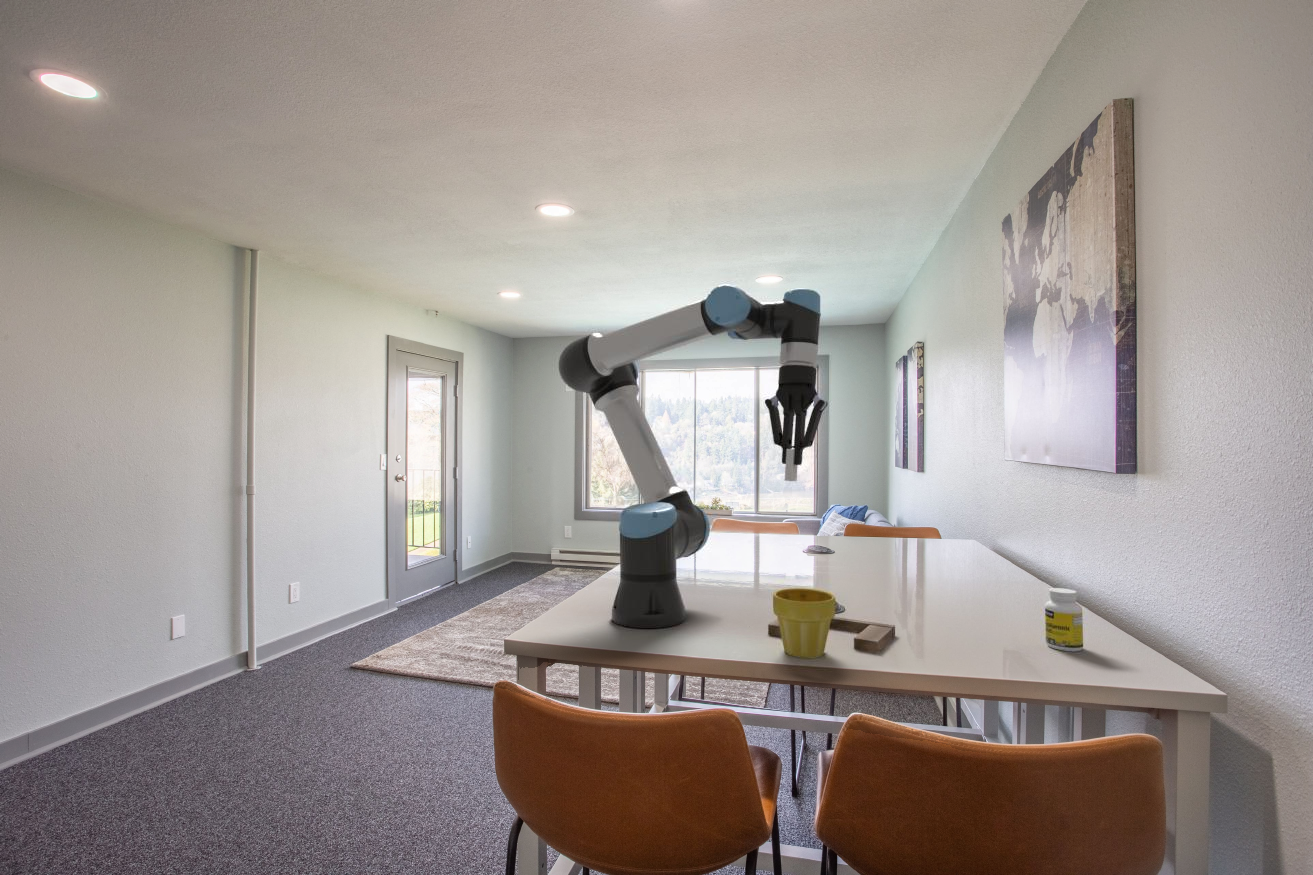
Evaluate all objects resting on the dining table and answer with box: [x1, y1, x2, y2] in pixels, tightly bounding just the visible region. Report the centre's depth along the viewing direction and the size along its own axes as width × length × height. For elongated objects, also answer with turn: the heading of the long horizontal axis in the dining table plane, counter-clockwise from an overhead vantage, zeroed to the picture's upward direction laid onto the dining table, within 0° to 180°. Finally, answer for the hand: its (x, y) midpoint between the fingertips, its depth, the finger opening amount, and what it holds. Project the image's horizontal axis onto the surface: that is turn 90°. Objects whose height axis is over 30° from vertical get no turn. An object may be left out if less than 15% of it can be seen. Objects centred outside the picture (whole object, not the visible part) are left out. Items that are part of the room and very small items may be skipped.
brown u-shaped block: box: [767, 616, 896, 653], centre depth 115 cm, size 20×12×2 cm, turn 56°
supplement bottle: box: [1044, 587, 1084, 653], centre depth 106 cm, size 5×5×10 cm
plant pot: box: [772, 587, 836, 659], centre depth 105 cm, size 10×10×10 cm
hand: (790, 480), depth 126 cm, fingers closed
